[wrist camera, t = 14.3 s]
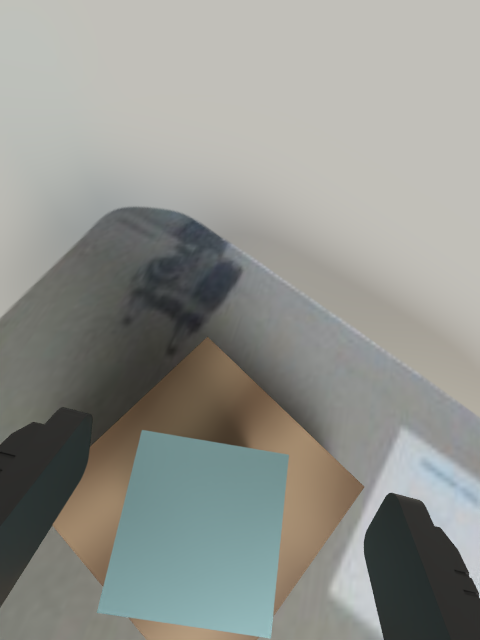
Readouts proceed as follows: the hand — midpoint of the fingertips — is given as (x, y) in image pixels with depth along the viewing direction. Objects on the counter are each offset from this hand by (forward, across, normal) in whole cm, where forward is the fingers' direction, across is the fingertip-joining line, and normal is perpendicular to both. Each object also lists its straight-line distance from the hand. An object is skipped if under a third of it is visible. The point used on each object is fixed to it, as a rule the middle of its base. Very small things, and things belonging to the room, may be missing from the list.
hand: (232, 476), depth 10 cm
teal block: (+6, 0, +8) cm, 10 cm away
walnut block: (+10, 0, +12) cm, 15 cm away
